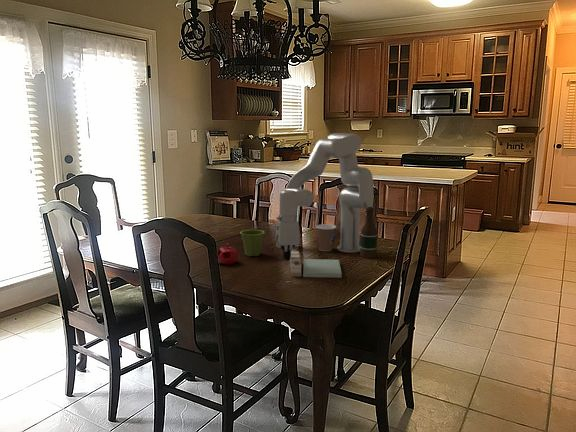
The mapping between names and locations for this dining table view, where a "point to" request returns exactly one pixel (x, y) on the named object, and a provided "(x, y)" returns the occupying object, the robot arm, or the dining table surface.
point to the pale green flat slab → (321, 268)
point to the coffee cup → (326, 236)
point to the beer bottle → (368, 236)
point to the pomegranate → (227, 255)
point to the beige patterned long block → (295, 264)
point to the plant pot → (252, 241)
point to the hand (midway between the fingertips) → (286, 259)
